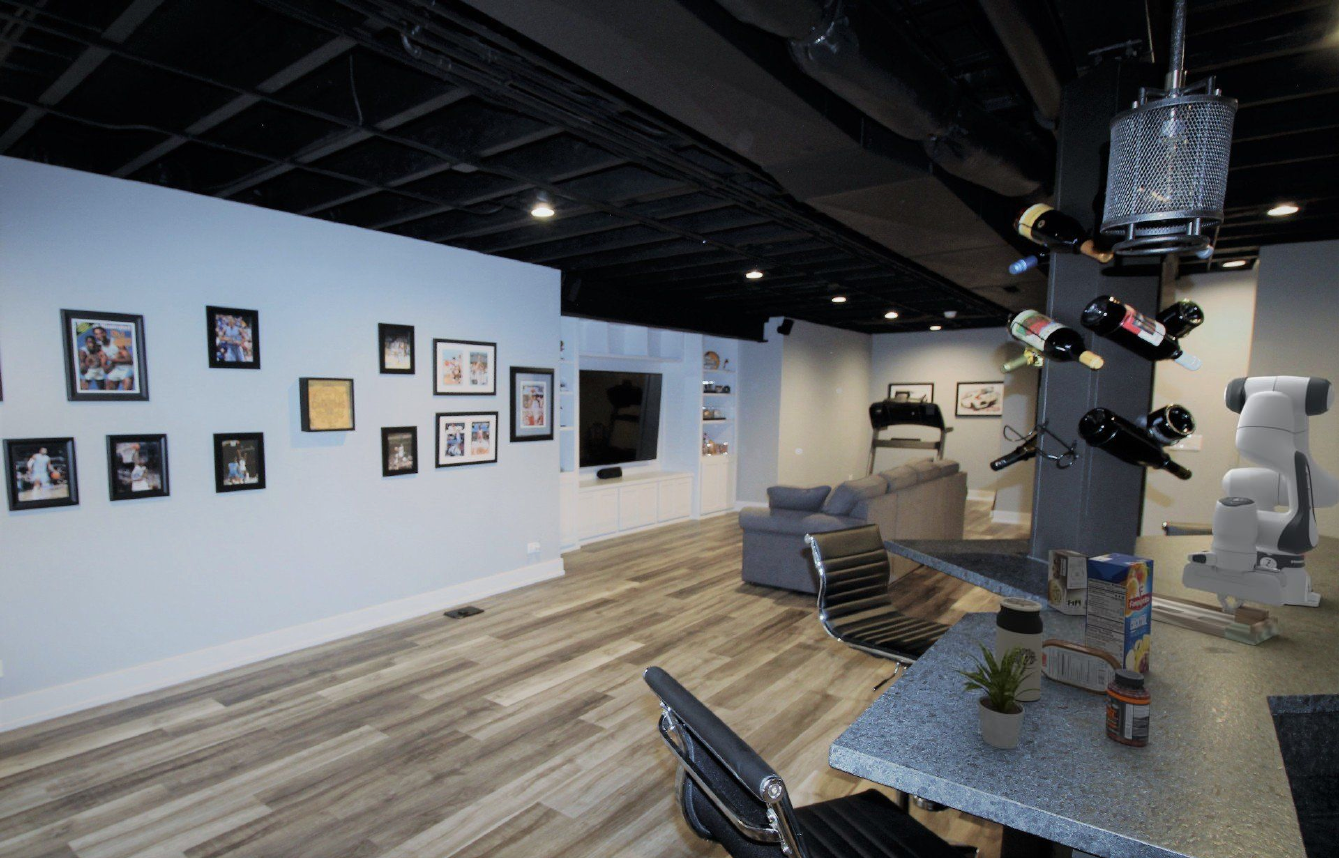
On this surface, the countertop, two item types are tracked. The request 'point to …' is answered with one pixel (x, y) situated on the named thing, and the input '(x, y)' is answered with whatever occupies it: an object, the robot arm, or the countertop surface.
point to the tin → (1078, 665)
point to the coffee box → (1067, 581)
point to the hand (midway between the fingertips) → (1230, 613)
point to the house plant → (999, 698)
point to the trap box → (1209, 619)
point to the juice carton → (1120, 608)
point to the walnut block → (1250, 615)
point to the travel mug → (1021, 641)
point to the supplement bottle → (1128, 708)
